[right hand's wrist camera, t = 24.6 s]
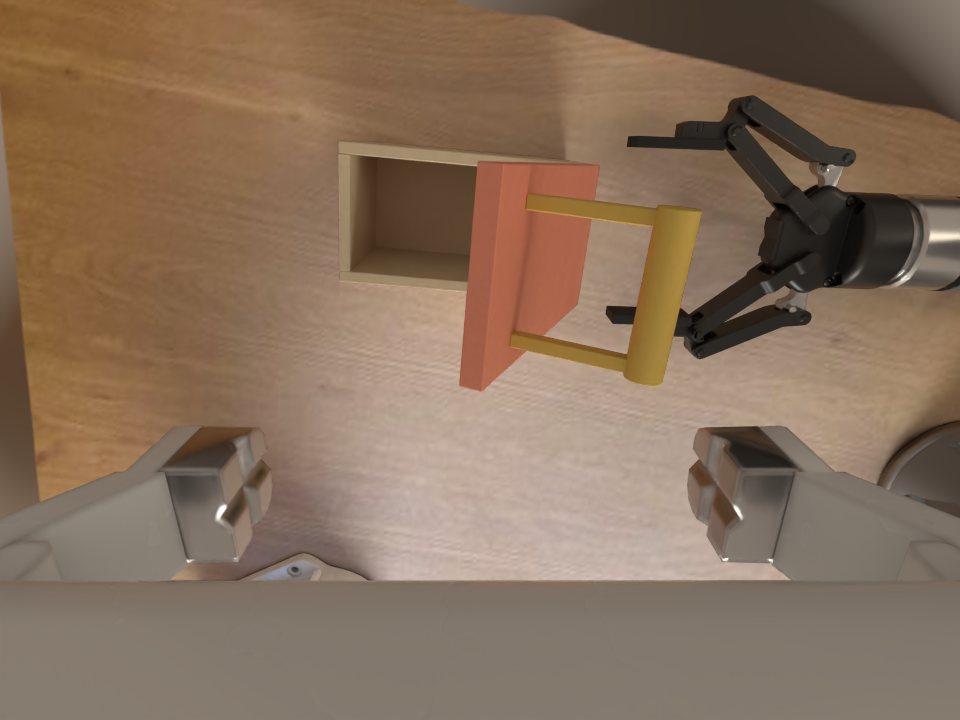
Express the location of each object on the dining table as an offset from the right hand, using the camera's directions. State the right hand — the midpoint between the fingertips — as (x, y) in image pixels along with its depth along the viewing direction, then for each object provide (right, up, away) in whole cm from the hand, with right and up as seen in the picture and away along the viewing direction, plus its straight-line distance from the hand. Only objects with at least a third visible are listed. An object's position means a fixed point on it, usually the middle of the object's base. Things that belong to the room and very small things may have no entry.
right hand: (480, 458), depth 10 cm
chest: (-1, +15, +38) cm, 41 cm away
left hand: (+11, +12, +33) cm, 37 cm away
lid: (+3, +8, +20) cm, 22 cm away
